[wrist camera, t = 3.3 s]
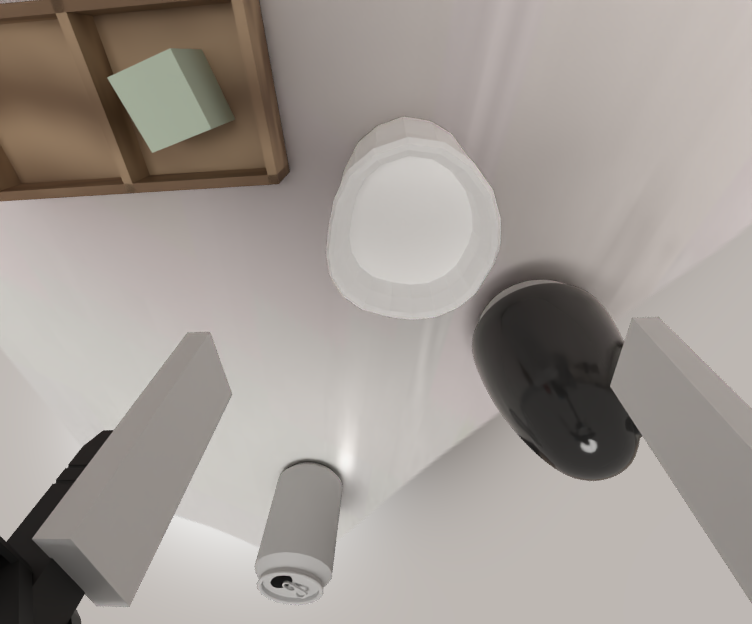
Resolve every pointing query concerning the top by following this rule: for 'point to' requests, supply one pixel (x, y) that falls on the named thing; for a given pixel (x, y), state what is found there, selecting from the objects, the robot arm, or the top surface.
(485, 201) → the cup
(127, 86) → the sage block
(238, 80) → the tray
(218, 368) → the robot arm
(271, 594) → the can
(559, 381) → the egg shaped speaker
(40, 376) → the top surface
